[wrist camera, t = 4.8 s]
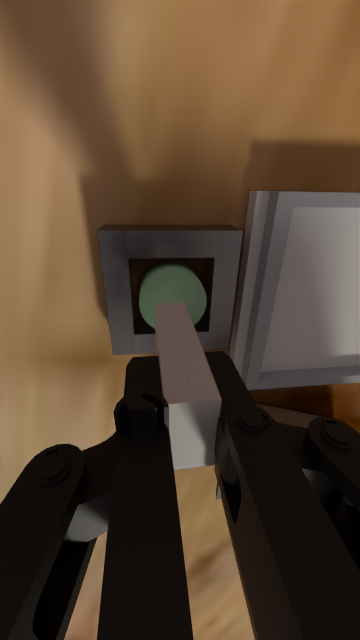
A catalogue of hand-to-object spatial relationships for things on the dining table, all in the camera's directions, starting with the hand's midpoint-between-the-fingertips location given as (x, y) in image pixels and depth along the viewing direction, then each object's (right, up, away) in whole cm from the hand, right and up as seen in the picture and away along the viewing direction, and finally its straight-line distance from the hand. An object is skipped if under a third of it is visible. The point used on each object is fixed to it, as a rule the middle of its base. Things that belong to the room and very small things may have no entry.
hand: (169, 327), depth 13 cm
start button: (0, +2, +4) cm, 5 cm away
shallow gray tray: (+13, +2, +7) cm, 15 cm away
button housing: (0, +3, +5) cm, 6 cm away
